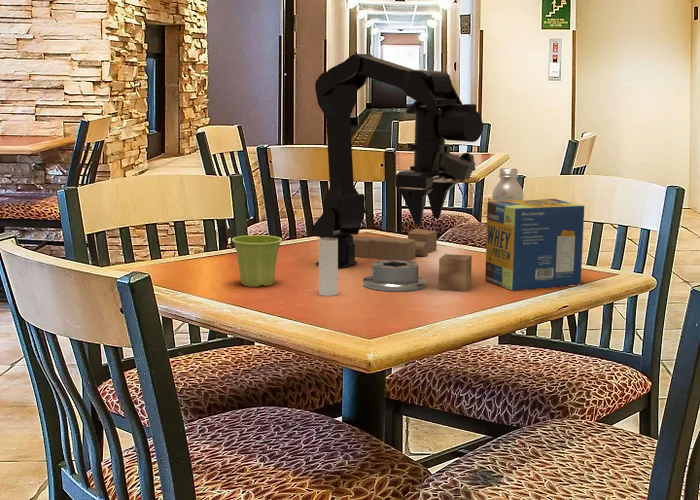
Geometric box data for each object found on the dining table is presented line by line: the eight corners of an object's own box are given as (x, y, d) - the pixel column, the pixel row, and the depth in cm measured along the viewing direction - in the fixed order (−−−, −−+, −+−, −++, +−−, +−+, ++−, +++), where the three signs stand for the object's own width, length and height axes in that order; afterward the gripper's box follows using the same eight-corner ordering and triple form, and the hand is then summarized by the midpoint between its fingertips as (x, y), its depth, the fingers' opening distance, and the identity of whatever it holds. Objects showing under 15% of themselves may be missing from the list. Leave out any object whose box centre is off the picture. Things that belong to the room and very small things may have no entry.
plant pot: (290, 281, 191) (289, 236, 190) (270, 290, 182) (269, 244, 181) (245, 277, 194) (245, 234, 193) (224, 287, 185) (223, 241, 184)
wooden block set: (411, 238, 211) (336, 232, 219) (410, 264, 212) (336, 257, 220) (441, 227, 226) (370, 222, 234) (441, 252, 227) (370, 246, 235)
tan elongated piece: (314, 294, 179) (314, 239, 177) (323, 290, 182) (323, 236, 180) (333, 296, 177) (333, 241, 176) (342, 293, 180) (342, 238, 179)
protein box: (483, 281, 192) (486, 201, 190) (552, 276, 198) (555, 198, 195) (511, 291, 183) (513, 207, 180) (582, 285, 188) (586, 204, 186)
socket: (364, 291, 182) (364, 270, 181) (361, 278, 193) (362, 258, 193) (429, 291, 182) (430, 270, 181) (423, 278, 194) (423, 258, 193)
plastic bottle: (486, 260, 214) (489, 167, 211) (517, 260, 215) (520, 167, 212) (493, 265, 208) (496, 170, 205) (525, 265, 209) (528, 170, 205)
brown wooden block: (438, 290, 183) (439, 258, 182) (444, 285, 188) (445, 254, 187) (465, 292, 182) (466, 260, 181) (470, 287, 187) (471, 255, 186)
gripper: (452, 143, 175) (449, 231, 178) (487, 138, 191) (484, 218, 194) (394, 141, 180) (392, 226, 182) (433, 135, 196) (431, 214, 199)
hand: (427, 221), depth 189 cm, fingers open, 9 cm apart
